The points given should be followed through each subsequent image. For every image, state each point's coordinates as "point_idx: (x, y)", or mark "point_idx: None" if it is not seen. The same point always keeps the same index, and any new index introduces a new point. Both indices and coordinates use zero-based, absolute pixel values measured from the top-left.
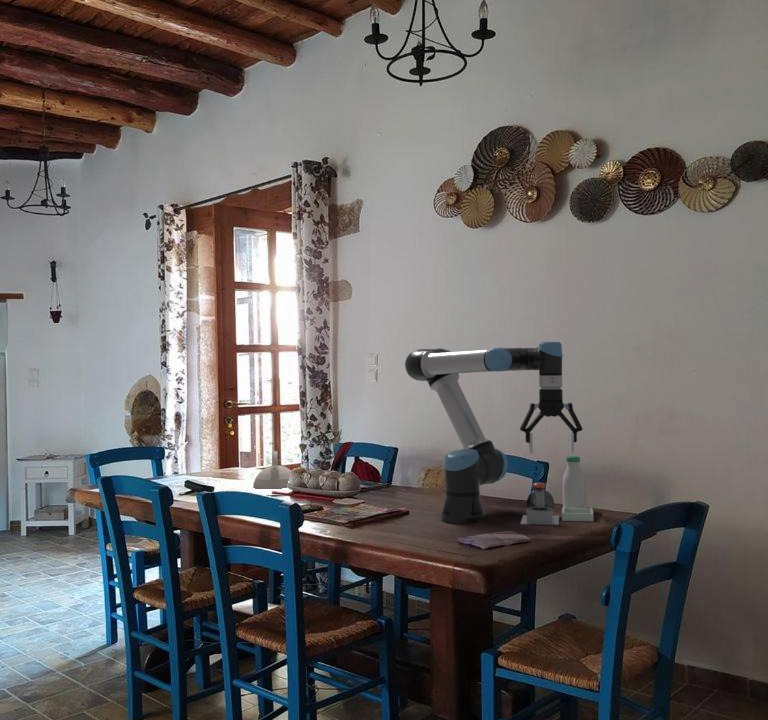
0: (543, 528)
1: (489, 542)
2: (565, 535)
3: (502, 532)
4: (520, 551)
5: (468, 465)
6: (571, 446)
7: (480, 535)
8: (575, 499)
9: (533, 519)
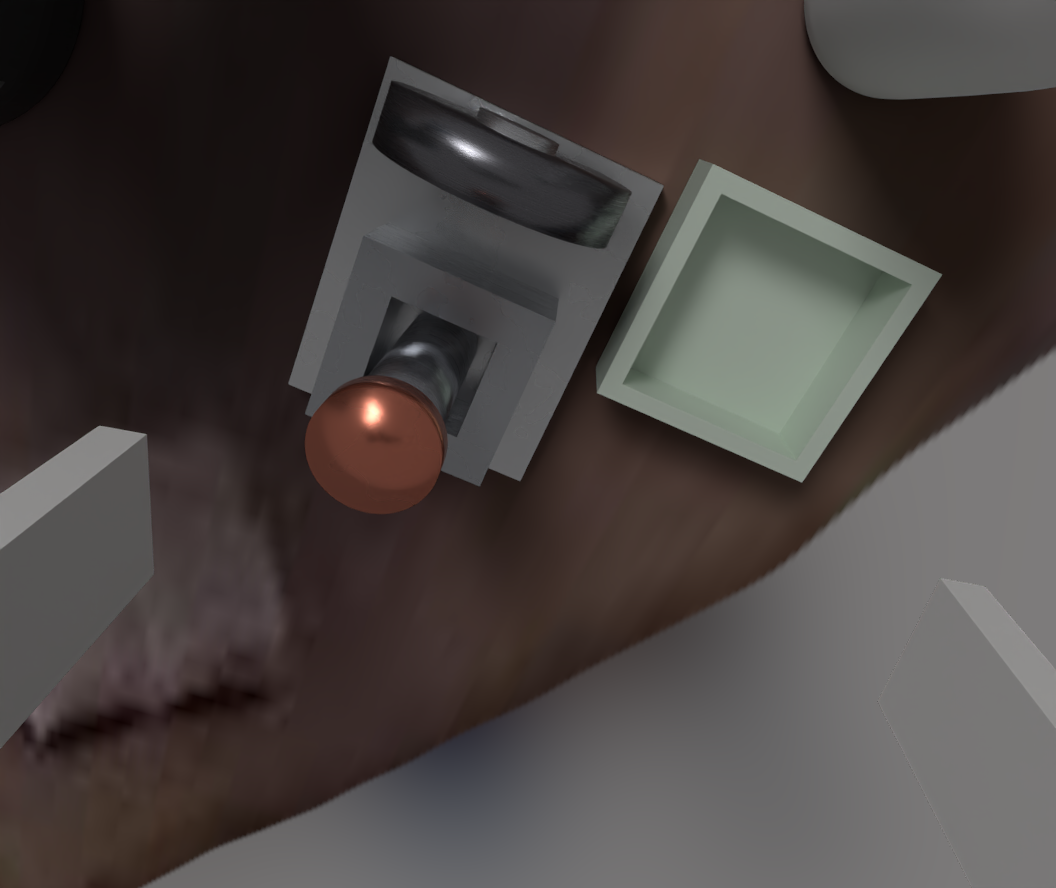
0: None
1: None
2: (484, 634)
3: (163, 467)
4: (190, 813)
5: None
6: (931, 798)
7: None
8: (913, 91)
9: None
